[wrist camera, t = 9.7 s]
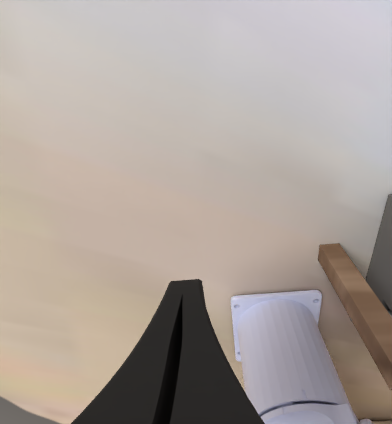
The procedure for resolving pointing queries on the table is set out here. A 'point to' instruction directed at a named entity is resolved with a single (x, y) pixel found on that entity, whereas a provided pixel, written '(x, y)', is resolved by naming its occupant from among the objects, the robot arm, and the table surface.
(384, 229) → the tall grey block
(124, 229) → the table surface
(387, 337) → the doorway frame
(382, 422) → the salad plate
